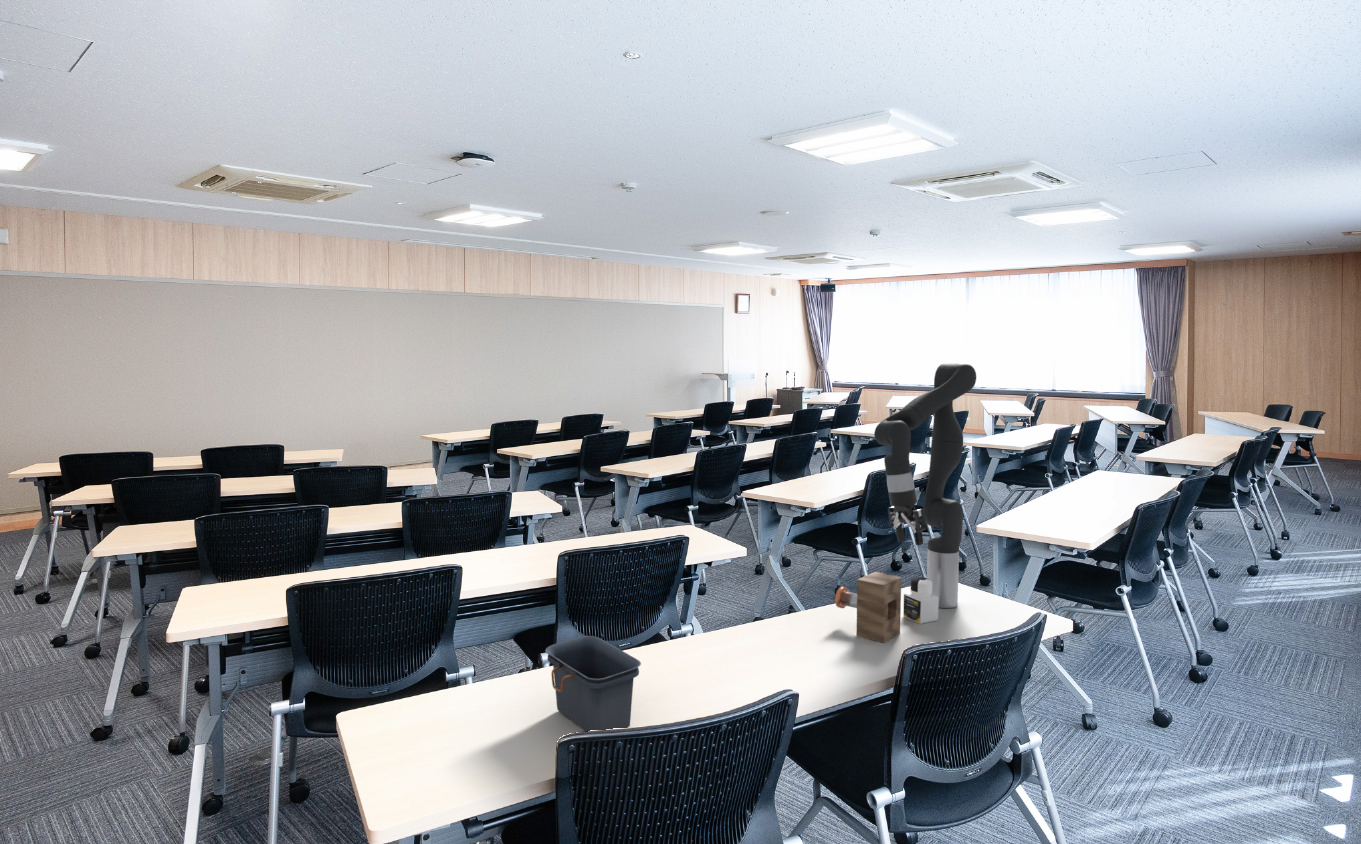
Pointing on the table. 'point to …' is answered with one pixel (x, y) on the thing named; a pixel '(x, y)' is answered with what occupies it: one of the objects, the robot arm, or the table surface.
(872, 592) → the post
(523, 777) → the table surface
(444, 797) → the table surface
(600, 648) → the storage bin
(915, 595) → the medicine bottle
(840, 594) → the pin
